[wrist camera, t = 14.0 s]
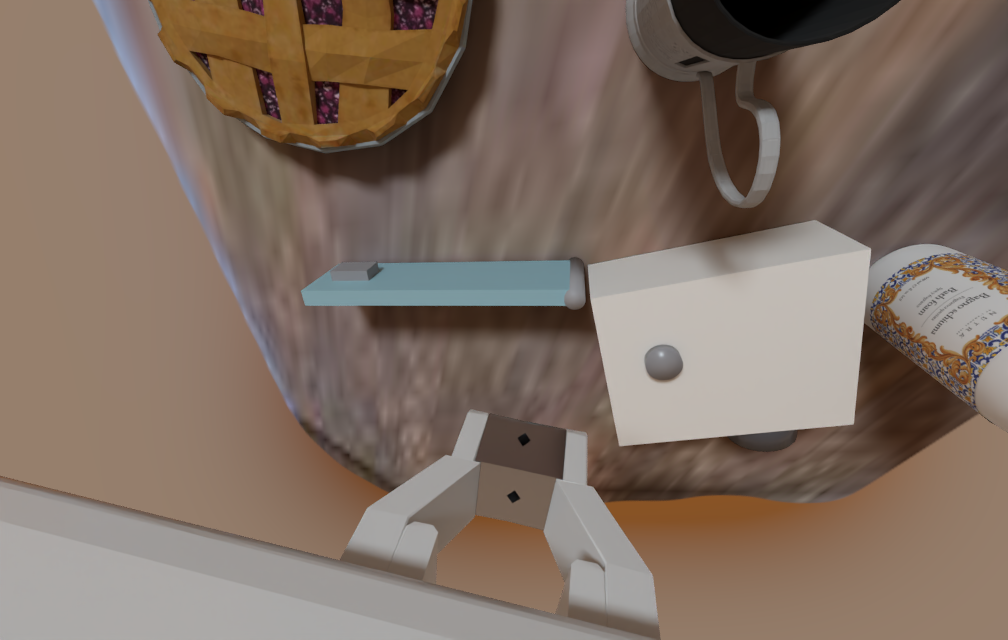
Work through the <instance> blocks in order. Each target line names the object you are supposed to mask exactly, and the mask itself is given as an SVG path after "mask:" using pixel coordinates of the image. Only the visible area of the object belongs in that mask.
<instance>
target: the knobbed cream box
mask: <svg viewBox="0 0 1008 640" xmlns="http://www.w3.org/2000/svg"><path fill="white" fill-rule="evenodd" d="M870 255H871V248H869V247H867V246H865V245H863V244H861V243H859V242H857V241H855V240H853V239H851V238H849V237H847V236H845V235H843V234H841V233H839V232H838V231H836V230H834V229H832V228H830V227H828V226H826V225H824V224H822V223H820V222H818V221H816V220H813V221H808V222H803V223H798V224H793V225H788V226H783V227H778V228H773V229H768V230H763V231H758V232H753V233H747V234H742V235H737V236H732V237H727V238H722V239H717V240H712V241H707V242H702V243H697V244H692V245H687V246H682V247H677V248H672V249H667V250H662V251H657V252H652V253H647V254H642V255H637V256H632V257H627V258H621V259H616V260H611V261H606V262H601V263H596V264H591V265H588V274H589V287H590V299H591V305H592V310H593V315H594V320H595V325H596V330H597V335H598V340H599V345H600V350H601V355H602V360H603V365H604V371H605V376H606V381H607V386H608V391H609V396H610V401H611V406H612V411H613V416H614V421H615V426H616V431H617V437H618V442H619V446H627V445H638V444H648V443H659V442H670V441H680V440H691V439H702V438H713V437H723V436H727V437H728V438H729V439H730V440H731V441H733V442H734V443H736V444H737V445H739V446H741V447H744V448H747V449H750V450H755V451H763V452H770V451H778V450H781V449H784V448H787V447H789V446H790V445H791V444H792V443H793V442H794V441H795V440H796V437H797V430H798V429H809V428H820V427H830V426H841V425H852V424H854V415H855V405H856V395H857V385H858V375H859V365H860V355H861V345H862V335H863V325H864V315H865V305H866V295H867V285H868V275H869V265H870Z"/></svg>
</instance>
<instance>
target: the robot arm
mask: <svg viewBox="0 0 1008 640" xmlns="http://www.w3.org/2000/svg"><path fill="white" fill-rule="evenodd" d="M587 439H588V436H587V434H586V432H580V431H575V430H570V429H563V428H558V427H553V426H548V425H543V424H538V423H533V422H527V421H522V420H518V419H514V418H509V417H505V416H500V415H496V414H492V413H490V414H489V413H485V412H481V411H477V410H472V409H470V411H469V412H468V414H467V416H466V419H465V422H464V424H463V427H462V430H461V432H460V435H459V438H458V440H457V443H456V446H455V448H454V451H453V454H452V456H448V455H445V456H444V457H442V458H441V459H439V460H438V461H436V462H435V463H433V464H432V465H430V466H429V467H427V468H426V469H424V470H423V471H422V472H420V473H419V474H417V475H416V476H414V477H413V478H411V479H410V480H408V481H407V482H405V483H404V484H402V485H401V486H399V487H398V488H396V489H395V490H393V491H392V492H390V493H389V494H387V495H386V496H385V497H383V498H382V499H380V500H378V501H377V502H376V503H374V504H373V505H371V506H370V507H368V508H367V510H366V512H365V513H364V515H363V517H362V519H361V521H360V523H359V525H358V527H357V529H356V530H355V532H354V534H353V536H352V538H351V540H350V542H349V544H348V545H347V548H346V549H345V551H344V553H343V555H342V557H341V559H340V560H336V559H332V558H328V557H324V556H319V555H316V554H312V553H308V552H304V551H300V550H295V549H292V548H288V547H283V546H280V545H276V544H272V543H268V542H264V541H259V540H255V539H252V538H247V537H244V536H240V535H236V534H232V533H227V532H223V531H219V530H215V529H211V528H207V527H203V526H199V525H195V524H191V523H187V522H183V521H179V520H175V519H171V518H167V517H163V516H159V515H155V514H151V513H147V512H143V511H139V510H135V509H131V508H127V507H123V506H119V505H115V504H111V503H107V502H103V501H99V500H95V499H91V498H87V497H83V496H79V495H75V494H71V493H67V492H62V491H59V490H55V489H51V488H46V487H43V486H39V485H35V484H31V483H27V482H23V481H18V480H14V479H11V478H7V477H3V476H0V640H660V632H659V624H658V615H657V608H656V599H655V590H654V582H653V575H652V574H651V572H650V571H649V569H648V568H647V567H646V565H645V563H644V562H643V560H642V559H641V557H640V556H639V555H638V553H637V551H636V550H635V548H634V547H633V545H632V544H631V543H630V541H629V540H628V538H627V537H626V535H625V534H624V532H623V531H622V529H621V528H620V527H619V525H618V523H617V522H616V520H615V519H614V517H613V516H612V514H611V513H610V511H609V510H608V508H607V507H606V505H605V504H604V502H603V501H602V499H601V498H600V496H599V495H598V493H597V492H596V490H595V489H594V487H591V486H587ZM475 515H480V516H485V517H490V518H494V519H500V520H504V521H510V522H513V523H517V524H521V525H525V526H529V527H533V528H537V529H541V530H544V534H545V537H546V539H547V541H548V544H549V546H550V549H551V551H552V554H553V556H554V558H555V561H556V563H557V565H558V568H559V570H560V573H561V575H562V577H563V580H564V582H565V585H564V588H563V591H562V594H561V597H560V601H559V604H558V607H557V610H556V613H555V614H552V613H549V612H545V611H541V610H537V609H533V608H529V607H525V606H521V605H517V604H512V603H509V602H505V601H500V600H497V599H493V598H488V597H485V596H480V595H476V594H472V593H468V592H464V591H460V590H456V589H452V588H448V587H444V586H440V585H436V569H437V554H438V553H439V552H440V551H441V550H442V549H443V548H444V547H445V546H446V545H447V544H448V543H449V542H450V541H451V540H452V539H453V538H454V537H455V536H456V535H457V534H458V533H459V532H460V531H461V530H462V529H463V528H464V527H465V526H466V525H467V524H468V523H469V522H470V521H471V520H472V519H473V518H474V517H475Z"/></svg>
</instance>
